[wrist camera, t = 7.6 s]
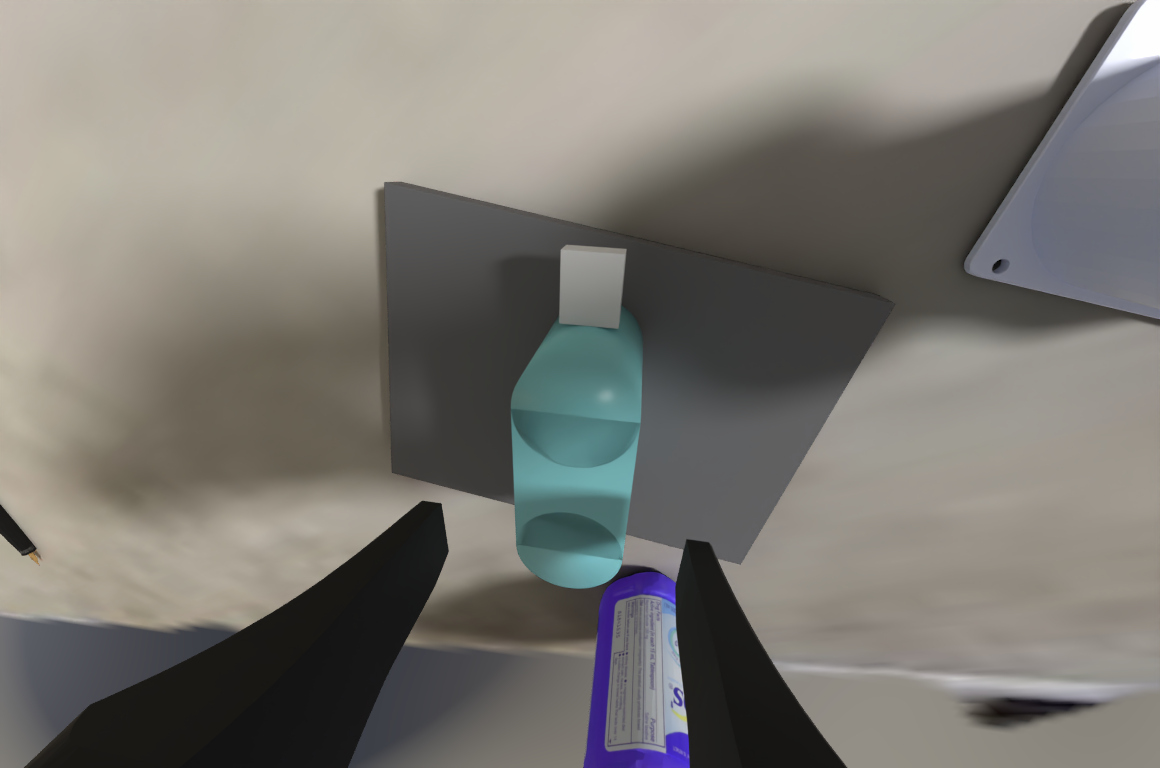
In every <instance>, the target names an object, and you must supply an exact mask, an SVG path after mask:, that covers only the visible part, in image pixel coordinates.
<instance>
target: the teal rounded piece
mask: <svg viewBox="0 0 1160 768" xmlns="http://www.w3.org/2000/svg"><path fill="white" fill-rule="evenodd" d="M626 251H627V249H620V248H606V247H592V246H577V245H566V246H564V247H563V248H562V249H561V263H560V310H559V316H558V318H557V319H556V321H555V322H554V324H553V326H552V327H551V329H550V330H549V332H548V334H547V335H546V337H545V338H544V340H543V342H542V343H541V345H540V346H539V348H538V350H537V351H536V353H535V355H534V356H533V358H532V359H531V361H530V363H529V364H528V366H527V367H526V369H525V371H524V372H523V374H522V375H521V377H520V379H519V380H518V382H517V384H516V386H515V388H514V391H513V394H512V399H511V425H512V450H513V475H514V500H515V525H516V546H517V551H518V554H519V557H520V559H521V560H522V562H523V563H524V565H525V566H526V567H527V568H528V569H529V570H530V571H531V572H532V573H534V574H535V575H536V576H538V577H540V578H541V579H543V580H545V581H547V582H549V583H552V584H554V585H558V586H561V587H566V588H576V589H582V588H591V587H595V586H599V585H601V584H604V583H606V582H607V581H609V580H610V579H612V578H613V577H614V576H615V575H616V574H617V572H618V571H619V569H620V567H621V564H622V559H623V551H624V544H625V536H626V529H627V521H628V514H629V506H630V499H631V491H632V484H633V476H634V469H635V461H636V454H637V446H638V439H639V431H640V424H641V398H642V363H643V336H642V332H641V329H640V326H639V324H638V322H637V320H636V319H635V317H634V316H633V315H632V314H631V313H630V312H629V311H628V310H627V309H626V308H625V307H623V306H622V305H621V304H622V294H623V283H624V272H625V262H626Z"/></svg>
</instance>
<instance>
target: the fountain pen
mask: <svg viewBox="0 0 1160 768" xmlns="http://www.w3.org/2000/svg"><path fill="white" fill-rule="evenodd" d="M0 534H1V535H2V536H3V537H4V538H5V539H6V540H7V541H8V542H9V543H11V544H12V545H13V546H14V547H15V548H16V549H17V550H18V551H19V552H20V553H21V555H22V556H24V555H29V556H30V558H31V559H32V560H33V561H35V562H36V563H37V564H38V565H39V563H38V559H37V557H36V556H35V555H34V553H33V552H34V551H35V550H36V548H35V547H34V546H33V545H32V544H31V542H30V541H29V540H28V538H27V537H26V536H25V534H24V533H23V532H22V531H21V529H20V528H19V527H18V526H17V524H16V523H15V522H14V520H13V519H12V518H11V517H10V515H9V514H8V513H7V512H6V511H5V509H4V508H3V507H2V506H1V505H0ZM39 566H40V565H39Z"/></svg>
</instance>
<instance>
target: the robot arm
mask: <svg viewBox="0 0 1160 768" xmlns="http://www.w3.org/2000/svg"><path fill="white" fill-rule="evenodd" d="M1000 259H1001V264H1000V266H999V267H998V268H997V269H996V270H994V271H992V267H993V264H994V263H995V262H996V261H998V260H1000ZM964 269H965V271H966V272H967V273H969V274H971V275H974V276H977V277H981V278H986V279H990V280H994V281H998V282H1003V283H1007V284H1011V285H1016V286H1020V287H1024V288H1028V289H1033V290H1037V291H1041V292H1045V293H1050V294H1054V295H1058V296H1062V297H1067V298H1071V299H1075V300H1080V301H1084V302H1088V303H1092V304H1097V305H1101V306H1105V307H1109V308H1114V309H1118V310H1122V311H1127V312H1131V313H1135V314H1139V315H1144V316H1148V317H1152V318H1156V319H1160V0H1137V1H1136V2H1135V3H1133V4H1132V5H1131V6H1130V7H1129V8H1128V9H1127V11H1126V12H1125V13H1124V14H1123V16H1122V17H1121V19H1120V21H1119V22H1118V24H1117V25H1116V27H1115V28H1114V30H1113V31H1112V33H1111V34H1110V36H1109V38H1108V39H1107V41H1106V42H1105V44H1104V45H1103V47H1102V48H1101V50H1100V52H1099V53H1098V55H1097V56H1096V58H1095V59H1094V61H1093V62H1092V64H1091V65H1090V67H1089V69H1088V70H1087V72H1086V73H1085V75H1084V76H1083V78H1082V79H1081V81H1080V83H1079V84H1078V86H1077V87H1076V89H1075V90H1074V92H1073V93H1072V95H1071V97H1070V98H1069V100H1068V101H1067V103H1066V104H1065V106H1064V107H1063V109H1062V110H1061V112H1060V114H1059V115H1058V117H1057V118H1056V120H1055V121H1054V123H1053V124H1052V126H1051V128H1050V129H1049V131H1048V132H1047V134H1046V135H1045V137H1044V138H1043V140H1042V142H1041V143H1040V145H1039V146H1038V148H1037V149H1036V151H1035V152H1034V154H1033V155H1032V157H1031V159H1030V160H1029V162H1028V163H1027V165H1026V166H1025V168H1024V169H1023V171H1022V173H1021V174H1020V176H1019V177H1018V179H1017V180H1016V182H1015V183H1014V185H1013V186H1012V188H1011V190H1010V191H1009V193H1008V194H1007V196H1006V197H1005V199H1004V200H1003V202H1002V204H1001V205H1000V207H999V208H998V210H997V211H996V213H995V214H994V216H993V218H992V219H991V221H990V222H989V224H988V225H987V227H986V228H985V230H984V231H983V233H982V235H981V236H980V238H979V239H978V241H977V242H976V244H975V245H974V247H973V249H972V250H971V252H970V253H969V255H968V256H967V258H966V260H965V262H964ZM448 552H449V550H448V543H447V537H446V530H445V524H444V517H443V510H442V504H441V503H434V502H427V501H421V502H420V503H419V504H417V505H416V506H415V507H414V508H412V509H411V510H410V511H409V512H408V513H406V514H405V515H404V516H403V517H402V518H400V519H399V520H398V521H397V522H396V523H394V524H393V525H392V526H391V527H390V528H388V529H387V530H386V531H385V532H383V533H382V534H381V535H380V536H379V537H377V538H376V539H375V540H373V541H372V542H371V543H370V544H368V545H367V546H366V547H365V548H363V549H362V550H361V551H360V552H358V553H357V554H356V555H355V556H353V557H352V558H351V559H349V560H348V561H347V562H345V563H344V564H343V565H341V566H340V567H339V568H337V569H336V570H334V571H333V572H332V573H330V574H329V575H328V576H326V577H325V578H324V579H322V580H321V581H319V582H318V583H317V584H315V585H314V586H312V587H311V588H309V589H308V590H306V591H305V592H303V593H302V594H300V595H299V596H297V597H296V598H294V599H293V600H291V601H290V602H288V603H286V604H285V605H283V606H282V607H280V608H279V609H277V610H275V611H274V612H272V613H271V614H269V615H267V616H265V617H264V618H262V619H260V620H258V621H257V622H255V623H253V624H252V625H250V626H248V627H246V628H245V629H243V630H241V631H239V632H238V633H236V634H234V635H232V636H231V637H229V638H227V639H225V640H224V641H222V642H220V643H218V644H216V645H214V646H212V647H211V648H209V649H207V650H205V651H203V652H201V653H199V654H197V655H195V656H193V657H191V658H189V659H187V660H185V661H183V662H181V663H179V664H177V665H175V666H173V667H171V668H169V669H168V670H165V671H163V672H161V673H159V674H157V675H155V676H153V677H150V678H148V679H146V680H144V681H142V682H139V683H138V684H135V685H133V686H131V687H129V688H126V689H124V690H122V691H120V692H118V693H115V694H113V695H111V696H109V697H107V698H105V699H103V700H100V701H98V702H95V703H93V704H91V705H89V706H88V707H87V708H86V709H85V710H84V711H83V712H82V713H81V714H80V715H79V716H78V717H77V718H75V719H74V720H73V721H72V722H71V723H70V724H69V725H68V726H67V727H66V728H65V729H64V730H63V731H62V732H61V733H60V734H59V735H58V736H57V737H56V738H55V739H54V740H52V741H51V742H50V743H49V744H48V745H47V746H46V747H45V748H44V749H43V750H42V751H41V752H40V753H39V754H38V755H37V756H36V757H35V758H34V759H33V760H31V761H30V762H29V763H28V764H27V765H26V766H25V767H24V768H348V766H349V763H350V761H351V759H352V756H353V754H354V751H355V749H356V747H357V744H358V741H359V739H360V737H361V734H362V732H363V729H364V727H365V725H366V722H367V719H368V718H369V715H370V713H371V711H372V709H373V706H374V704H375V702H376V699H377V697H378V695H379V693H380V690H381V688H382V686H383V683H384V681H385V679H386V677H387V675H388V673H389V670H390V669H391V667H392V665H393V663H394V661H395V659H396V657H397V655H398V654H399V652H400V650H401V648H402V646H403V644H404V643H405V641H406V639H407V637H408V635H409V633H410V632H411V630H412V628H413V626H414V624H415V622H416V620H417V619H418V617H419V615H420V613H421V611H422V609H423V607H424V606H425V604H426V602H427V600H428V598H429V596H430V594H431V592H432V591H433V589H434V587H435V585H436V582H437V580H438V577H439V575H440V573H441V570H442V568H443V565H444V562H445V560H446V557H447V555H448ZM675 606H676V631H677V640H678V649H679V657H680V666H681V674H682V683H683V691H684V700H685V708H686V716H687V727H688V739H689V763H690V768H847V767H846V766H845V764H844V763H843V762H842V760H841V759H840V758H839V756H838V755H837V754H836V753H835V751H834V750H833V749H832V747H831V746H830V745H829V744H828V742H827V741H826V740H825V738H824V737H823V736H822V734H821V733H820V732H819V730H818V729H817V728H816V726H815V725H814V723H813V722H812V721H811V719H810V718H809V716H808V715H807V714H806V712H805V711H804V709H803V708H802V706H801V705H800V704H799V702H798V701H797V699H796V698H795V696H794V695H793V693H792V692H791V690H790V689H789V687H788V686H787V684H786V683H785V681H784V680H783V678H782V677H781V675H780V674H779V672H778V670H777V669H776V667H775V666H774V664H773V662H772V661H771V659H770V658H769V656H768V654H767V653H766V651H765V649H764V648H763V646H762V644H761V643H760V641H759V639H758V637H757V636H756V634H755V632H754V630H753V629H752V627H751V625H750V623H749V621H748V620H747V618H746V616H745V614H744V612H743V610H742V608H741V607H740V605H739V603H738V601H737V599H736V597H735V595H734V593H733V591H732V589H731V587H730V585H729V583H728V581H727V579H726V577H725V575H724V573H723V570H722V568H721V566H720V564H719V562H718V559H717V557H716V555H715V552H714V550H713V547H712V545H711V544H710V543H709V542H704V541H697V540H690V539H686V543H685V547H684V551H683V556H682V560H681V564H680V569H679V573H678V577H677V582H676V586H675Z"/></svg>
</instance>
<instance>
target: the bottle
mask: <svg viewBox="0 0 1160 768" xmlns="http://www.w3.org/2000/svg"><path fill="white" fill-rule="evenodd" d="M675 586H676V583H675V582H674V581H673V580H671V579H670V578H668V577H666V576H665V575H663V574H660V573H657V572H643V573H637V574H634V575H631V576H628V577H624V578H621V579H618V580H616V581H615V582H613V583H612V584H611V585H609V586H608V587H607V589H606V590H605V592H604V594H603V597H602V599H601V602H600V606H599V618H598V628H597V637H596V648H595V658H594V669H593V678H592V689H591V700H590V709H589V719H588V729H587V738H586V746H585V756H584V767H583V768H690V763H689V739H688V727H687V716H686V708H685V700H684V691H683V683H682V674H681V666H680V657H679V649H678V640H677V631H676V606H675Z"/></svg>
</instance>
